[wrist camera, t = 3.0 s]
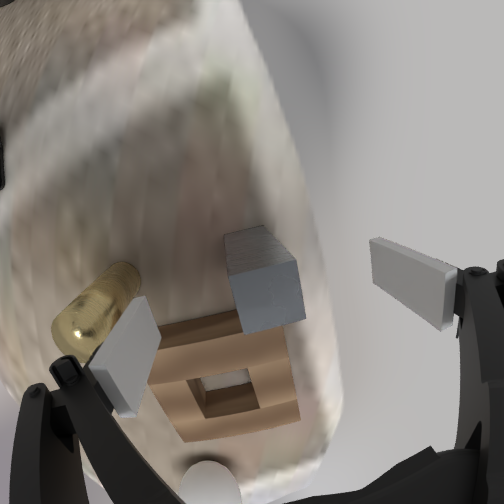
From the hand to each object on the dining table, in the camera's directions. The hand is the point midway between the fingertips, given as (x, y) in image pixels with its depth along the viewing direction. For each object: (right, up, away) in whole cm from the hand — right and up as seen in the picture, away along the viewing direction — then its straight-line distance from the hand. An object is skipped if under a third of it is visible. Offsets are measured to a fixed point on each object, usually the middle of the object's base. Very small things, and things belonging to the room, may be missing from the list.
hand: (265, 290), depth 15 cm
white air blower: (-7, -27, +15) cm, 31 cm away
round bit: (-12, 0, +7) cm, 14 cm away
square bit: (-1, +2, +8) cm, 8 cm away
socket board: (-4, -9, +10) cm, 14 cm away
